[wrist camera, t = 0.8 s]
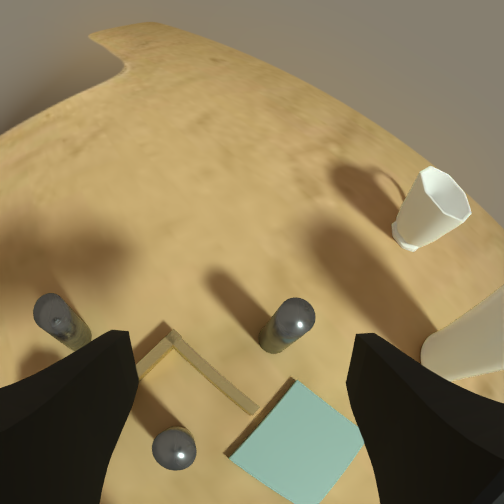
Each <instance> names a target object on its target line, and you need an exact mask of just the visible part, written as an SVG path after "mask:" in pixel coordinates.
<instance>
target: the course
mask: <svg viewBox="0 0 504 504" xmlns="http://www.w3.org/2000/svg"><path fill="white" fill-rule="evenodd" d="M33 315H34V320H35V322H36V323H37V325H38V326H39V327H41V328H42V329H43V330H45V331H46V332H47V333H49V334H50V335H51V336H53V337H54V338H56V339H57V340H58V341H60V342H61V343H63V344H64V345H66V346H67V347H69V348H70V349H72V350H74V351H77V350H78V349H80V348H81V347H83V346H85V345H86V344H88V343H90V342H91V337H92V335H91V331H90V329H89V327H88V326H87V325H86V324H85V323H84V322H83V321H82V320H81V319H80V318H79V317H78V316H77V315H76V313H75V312H74V311H73V310H72V309H71V308H70V307H69V306H68V305H67V304H66V303H65V301H64V300H63V299H62V298H61V297H60V296H59V295H57V294H54V293H48V294H45V295H43V296H41V297H40V298H39V299H38V300H37V302H36V304H35V306H34V310H33ZM314 323H315V312H314V309H313V307H312V306H311V305H310V304H309V303H308V302H307V301H306V300H304V299H301V298H290V299H287V300H286V301H284V302H283V304H282V305H281V306H280V307H279V309H278V310H277V311H276V312H275V314H274V315H273V316H272V317H271V319H270V320H269V321H268V322H267V324H266V325H265V326H264V327H263V329H262V330H261V331H260V333H259V344H260V346H261V347H262V349H263V350H265V351H266V352H268V353H272V354H276V353H280V352H282V351H283V350H284V349H286V348H287V347H288V346H290V345H291V344H292V343H294V342H295V341H296V340H298V339H299V338H300V337H301V336H303V335H304V334H305V333H307V332H308V331H309V330H310V329H311V328H312V327H313V325H314ZM173 348H174V349H175V350H176V351H177V352H178V353H179V354H180V355H181V356H182V357H183V358H184V359H186V360H187V361H188V362H189V363H190V364H191V365H192V366H193V367H194V368H195V369H196V370H197V371H198V372H200V373H201V374H202V375H203V376H204V377H205V378H206V379H207V380H208V381H210V382H211V383H212V384H213V385H214V386H215V387H216V388H218V389H219V390H220V391H221V392H222V393H223V394H225V395H226V396H227V397H228V398H229V399H230V400H232V401H233V402H234V403H235V404H236V405H238V406H239V407H240V408H241V409H242V410H244V411H245V412H246V413H247V414H249V415H254V413H255V412H256V411H257V410H258V409H259V408H260V407H259V406H258V405H257V404H255V403H254V402H253V401H252V400H251V399H249V398H248V397H247V396H246V395H245V394H243V393H242V392H241V391H240V390H239V389H237V388H236V387H235V386H234V385H233V384H232V383H230V382H229V381H228V380H227V379H226V378H225V377H223V376H222V375H221V374H220V373H219V372H218V371H217V370H216V369H214V368H213V367H212V366H211V365H210V364H209V363H208V362H207V361H206V360H204V359H203V358H202V357H201V356H200V355H199V354H198V353H197V352H196V351H195V350H194V349H193V348H191V347H190V346H189V345H188V344H187V343H186V342H185V341H184V340H183V339H182V336H181V335H180V334H179V333H178V332H177V331H176V330H175V329H173V330H172V331H171V332H170V333H169V334H168V335H167V336H166V337H165V338H164V339H163V340H161V341H160V342H159V343H158V344H157V345H156V346H155V347H154V348H153V349H152V350H151V351H150V352H149V353H148V354H147V355H146V356H145V357H144V358H143V359H142V360H140V361H139V362H138V363H137V364H136V369H137V373H138V377H139V381H140V380H141V379H142V378H143V377H144V376H145V375H146V374H147V373H148V372H150V371H151V370H152V369H153V368H154V367H155V366H156V365H157V364H158V363H159V362H160V361H161V360H162V359H163V358H164V357H165V356H166V355H167V354H168V353H169V352H170V351H171V350H172V349H173ZM152 453H153V456H154V458H155V460H156V461H157V462H158V463H159V464H160V465H161V466H163V467H164V468H166V469H169V470H183V469H185V468H187V467H189V466H190V465H191V464H192V463H193V462H194V460H195V457H196V446H195V441H194V437H193V435H192V434H191V433H190V432H189V431H188V430H187V429H185V428H183V427H179V426H174V427H170V428H168V429H167V430H165V431H163V432H162V433H160V434H159V435H158V436H157V437H156V438H155V439H154V441H153V444H152Z"/></svg>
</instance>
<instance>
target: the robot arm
mask: <svg viewBox="0 0 504 504" xmlns="http://www.w3.org/2000/svg"><path fill="white" fill-rule="evenodd" d="M138 383H139V377H138V373H137V369H136V364H135V360H134V356H133V351H132V346H131V341H130V336H129V331H119V330H110V331H108V332H106V333H105V334H103V335H101V336H99V337H98V338H96V339H94V340H93V341H91V342H90V343H88V344H86V345H85V346H83V347H81V348H80V349H78V350H77V351H75V352H73V353H72V354H70V355H69V356H67V357H65V358H63V359H62V360H60V361H58V362H56V363H55V364H53V365H51V366H49V367H47V368H46V369H44V370H42V371H40V372H38V373H36V374H34V375H32V376H30V377H28V378H25V379H23V380H21V381H18V382H16V383H14V384H11V385H8V386H5V387H2V388H0V504H99V503H100V498H101V492H102V488H103V483H104V479H105V475H106V471H107V467H108V464H109V461H110V458H111V456H112V453H113V451H114V448H115V446H116V443H117V441H118V439H119V436H120V434H121V432H122V429H123V427H124V425H125V422H126V420H127V417H128V415H129V413H130V410H131V408H132V405H133V402H134V398H135V395H136V391H137V387H138ZM346 386H347V391H348V396H349V400H350V405H351V409H352V411H353V414H354V417H355V420H356V422H357V425H358V428H359V430H360V433H361V436H362V438H363V441H364V444H365V446H366V449H367V452H368V454H369V457H370V460H371V463H372V466H373V470H374V474H375V478H376V483H377V488H378V493H379V498H380V504H504V403H500V402H497V401H494V400H491V399H488V398H486V397H483V396H480V395H478V394H475V393H473V392H471V391H468V390H466V389H464V388H462V387H460V386H458V385H456V384H454V383H452V382H450V381H448V380H446V379H444V378H443V377H441V376H439V375H437V374H436V373H434V372H432V371H431V370H429V369H427V368H426V367H424V366H423V365H421V364H420V363H418V362H417V361H415V360H414V359H412V358H411V357H409V356H408V355H406V354H405V353H403V352H402V351H400V350H399V349H398V348H396V347H395V346H393V345H392V344H390V343H389V342H387V341H386V340H384V339H383V338H381V337H380V336H378V335H376V334H375V333H364V334H356V336H355V342H354V347H353V352H352V357H351V362H350V366H349V371H348V375H347V380H346Z"/></svg>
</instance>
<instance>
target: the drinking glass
mask: <svg viewBox="0 0 504 504" xmlns="http://www.w3.org/2000/svg"><path fill="white" fill-rule="evenodd" d="M421 365H423V366H424V367H426V368H427V369H429V370H431V371H432V372H434V373H436V374H437V375H439V376H441V377H443V378H444V379H446V380H448V381H450V382H452V381H455V380H460V379H465V378H470V377H474V376H479V375H484V374H488V373H492V372H497V371H501V370H504V284H503V285H502V286H501V287H499V288H498V289H497V290H495V291H494V292H493V293H492V294H490V295H489V296H488V297H486V298H485V299H484V300H482V301H481V302H480V303H478V304H477V305H476V306H474V307H473V308H472V309H470V310H469V311H467V312H466V313H465V314H463V315H462V316H460V317H459V318H457V319H456V320H455V321H453V322H452V323H450V324H449V325H447V326H445V327H444V328H442V329H440V330H438V331H436V332H434V333H433V334H431V335H430V336H428V337H427V339H426V340H425V341H424V343H423V346H422V349H421Z"/></svg>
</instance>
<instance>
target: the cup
mask: <svg viewBox="0 0 504 504" xmlns="http://www.w3.org/2000/svg"><path fill="white" fill-rule="evenodd" d="M470 214H471V209H470V206H469V203H468V200H467V197H466V194H465V192H464V191H463V190H462V189H461V188H460V187H459V185H458V184H457V183H456V182H455V181H454V180H453V179H452V177H451V176H450V175H449V174H446V173H444V172H442V171H440V170H438V169H436V168H434V167H432V166H429V167H427V168H426V169H424V170H422V171H420V172H419V174H418V176H417V178H416V180H415V182H414V183H413V185H412V187H411V189H410V191H409V193H408V194H407V196H406V198H405V200H404V201H403V203H402V205H401V207H400V210H399V212H398V215H397V217H396V221H395V222H393V223H392V224H391V226H392V236H393V238H394V239H395V240H396V241H397V243H398V244H399V245H400V246H401V248H403V249H406V250H409V251H412V252H414V251H416V250H417V249H418V248H419V247H422V246H425V245H427V244H429V243H431V242H434V241H435V240H437V239H438V238H440V237H441V236H443V235H444V234H446V233H448V232H449V231H451V230H452V229H454V228H456V227H457V226H459V225H460V224H462V223H463V222H464V221H465V220H466V219H467V218H468V217H469V215H470Z"/></svg>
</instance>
